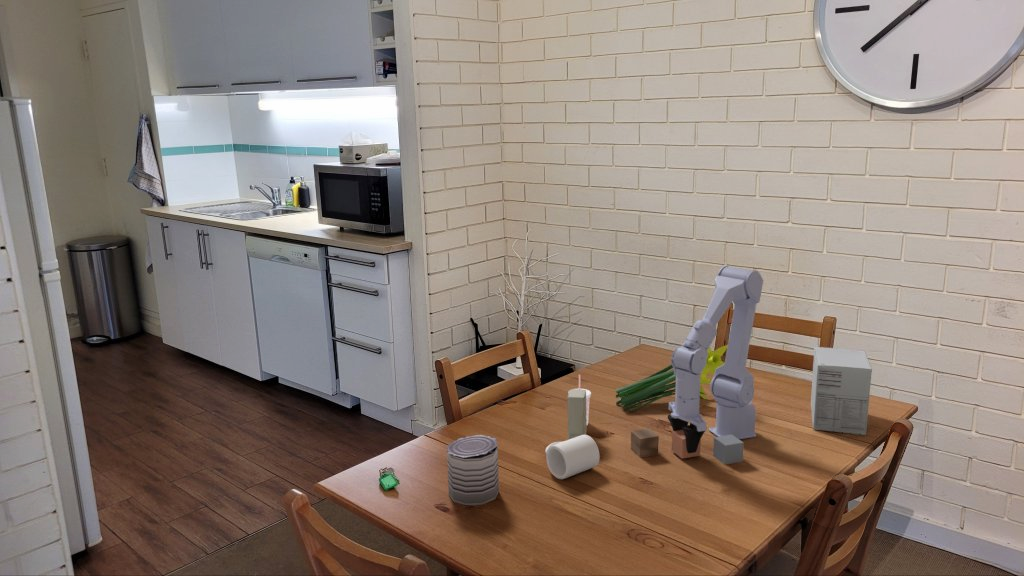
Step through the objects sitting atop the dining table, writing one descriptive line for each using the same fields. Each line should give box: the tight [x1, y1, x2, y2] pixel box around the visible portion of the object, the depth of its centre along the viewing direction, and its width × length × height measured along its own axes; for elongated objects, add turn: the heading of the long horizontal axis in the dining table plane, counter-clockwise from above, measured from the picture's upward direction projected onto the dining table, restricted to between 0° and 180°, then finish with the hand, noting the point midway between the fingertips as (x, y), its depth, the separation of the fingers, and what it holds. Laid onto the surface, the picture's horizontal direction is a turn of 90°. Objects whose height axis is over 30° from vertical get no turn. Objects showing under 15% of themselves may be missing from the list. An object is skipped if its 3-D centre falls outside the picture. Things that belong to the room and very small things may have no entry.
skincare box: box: [566, 388, 588, 440], centre depth 196 cm, size 6×4×12 cm
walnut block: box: [630, 427, 660, 458], centre depth 187 cm, size 5×5×5 cm
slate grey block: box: [712, 434, 745, 465], centre depth 182 cm, size 5×5×5 cm
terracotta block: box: [671, 430, 702, 459], centre depth 185 cm, size 5×5×5 cm
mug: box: [544, 434, 600, 480], centre depth 179 cm, size 12×10×8 cm
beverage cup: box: [567, 374, 592, 426], centre depth 204 cm, size 6×6×14 cm
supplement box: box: [810, 346, 873, 436], centre depth 202 cm, size 17×13×18 cm
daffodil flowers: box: [614, 344, 728, 413], centre depth 218 cm, size 17×15×35 cm
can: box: [446, 434, 500, 506], centre depth 168 cm, size 11×11×12 cm
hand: (685, 447), depth 185 cm, fingers closed on terracotta block, 5 cm apart
